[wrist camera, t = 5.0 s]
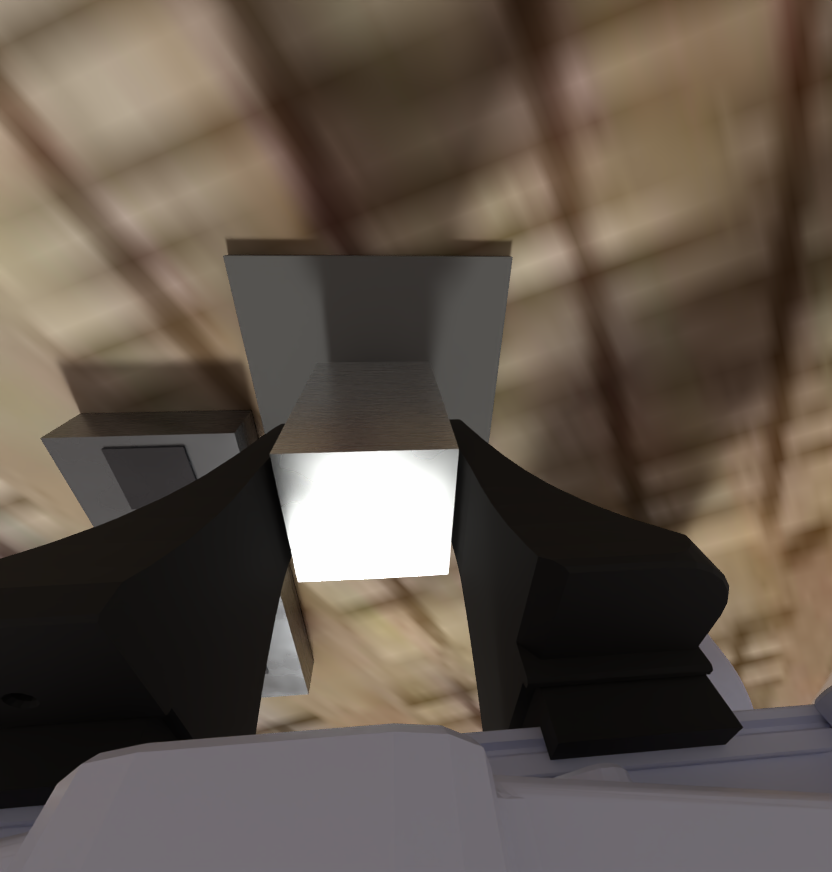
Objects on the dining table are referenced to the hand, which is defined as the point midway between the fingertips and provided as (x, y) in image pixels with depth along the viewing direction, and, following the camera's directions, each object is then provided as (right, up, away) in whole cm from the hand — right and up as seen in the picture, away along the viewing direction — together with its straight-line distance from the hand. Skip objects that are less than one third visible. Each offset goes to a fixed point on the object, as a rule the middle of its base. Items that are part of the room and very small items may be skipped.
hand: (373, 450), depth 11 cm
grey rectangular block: (0, +1, +3) cm, 3 cm away
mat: (0, +3, +4) cm, 5 cm away
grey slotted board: (-9, -7, +9) cm, 15 cm away
